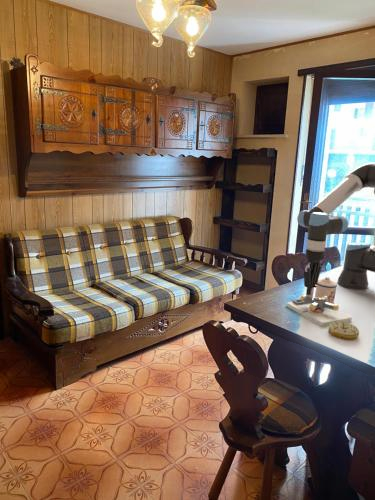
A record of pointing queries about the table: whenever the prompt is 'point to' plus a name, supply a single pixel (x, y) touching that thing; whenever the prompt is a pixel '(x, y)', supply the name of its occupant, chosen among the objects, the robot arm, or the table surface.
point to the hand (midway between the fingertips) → (308, 301)
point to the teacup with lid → (326, 289)
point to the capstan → (319, 303)
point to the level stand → (320, 318)
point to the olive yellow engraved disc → (344, 330)
